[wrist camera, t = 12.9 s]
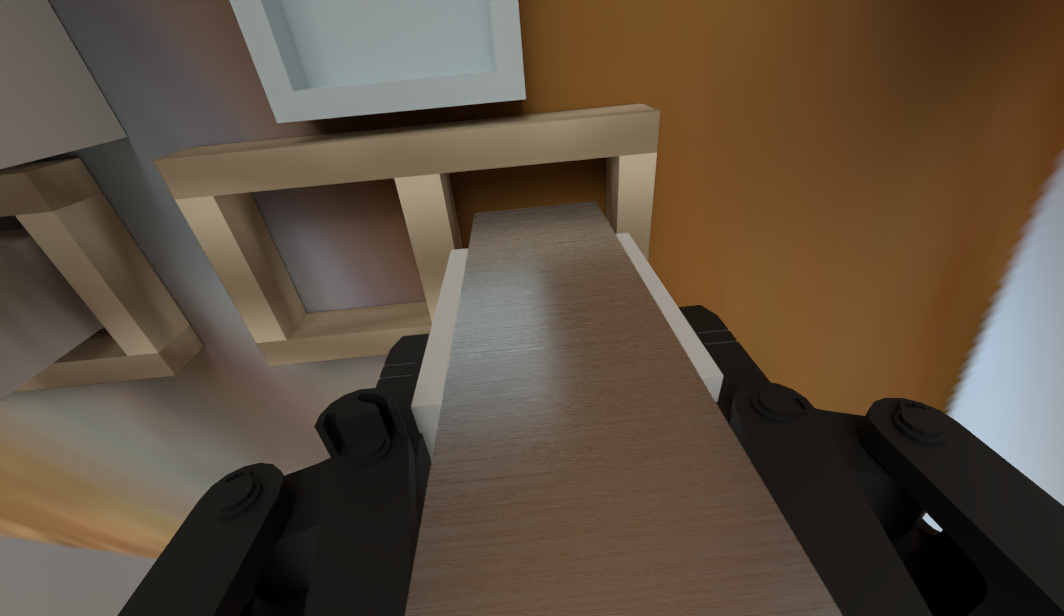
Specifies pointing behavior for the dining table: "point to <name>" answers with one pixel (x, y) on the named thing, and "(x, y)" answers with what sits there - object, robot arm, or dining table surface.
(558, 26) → the dining table surface
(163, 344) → the pallet
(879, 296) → the dining table surface
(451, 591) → the block
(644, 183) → the pallet
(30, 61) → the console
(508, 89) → the tote
